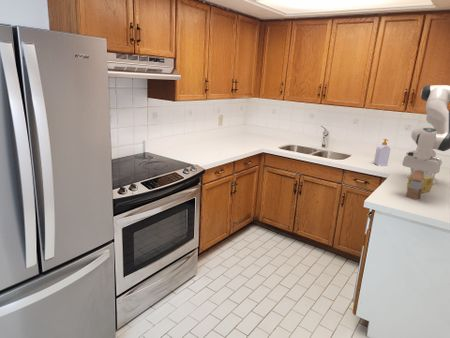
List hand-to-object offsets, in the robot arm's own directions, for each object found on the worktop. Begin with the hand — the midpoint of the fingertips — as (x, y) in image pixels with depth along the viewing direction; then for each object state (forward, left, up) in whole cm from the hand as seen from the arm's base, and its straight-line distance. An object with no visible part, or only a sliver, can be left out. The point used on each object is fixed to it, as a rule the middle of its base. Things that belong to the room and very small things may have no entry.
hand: (418, 176), depth 198 cm
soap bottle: (-63, -53, -14) cm, 83 cm away
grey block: (0, 0, -8) cm, 8 cm away
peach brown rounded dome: (0, 0, -2) cm, 2 cm away
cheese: (-20, -5, -14) cm, 25 cm away
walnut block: (0, 0, -14) cm, 14 cm away
